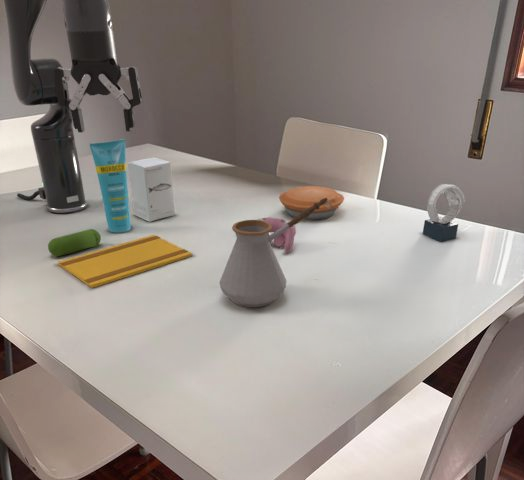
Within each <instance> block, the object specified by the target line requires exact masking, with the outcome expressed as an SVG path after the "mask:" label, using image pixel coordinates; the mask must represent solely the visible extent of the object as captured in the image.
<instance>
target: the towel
mask: <svg viewBox="0 0 524 480" xmlns="http://www.w3.org/2000/svg"><path fill="white" fill-rule="evenodd" d="M192 256H193V253H192V252H189V251H188V250H187V249H185V248H182V247H180V246H177V245H175V244H173V243H171V242H169V241H168V240H165V239H163V238H161V236H158V235H155V234H151V235H147V236H143V237H140V238H137V239H134V240H130V241H127V242H123V243H120V244H116V245H112V246H109V247H106V248H102V249H98V250H94V251H90V252H87V253H84V254H80V255H77V256H73V257H70V258H67V259H63V260H60V261H57V265H58V266H59V267H61V268H62V269H63V270H64V271H67V272H68V273H70V275H72V276H74V277H75V278H77V279H78V280H80V282H83V284H86V285H87V286H88V287H90V288H91V289H93V288H94V289H95V288H97V287H101V286H104V285H106V284H110V283H112V282H115V281H120V280H121V279H124V278H127V277H131V276H134V275H137V274H140V273H145V272H146V271H149V270H153V269H155V268H160V267H162V266H165V265H169V264H172V263H174V262H178V261H181V260H184V259H187V258H190V257H192Z"/></svg>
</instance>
